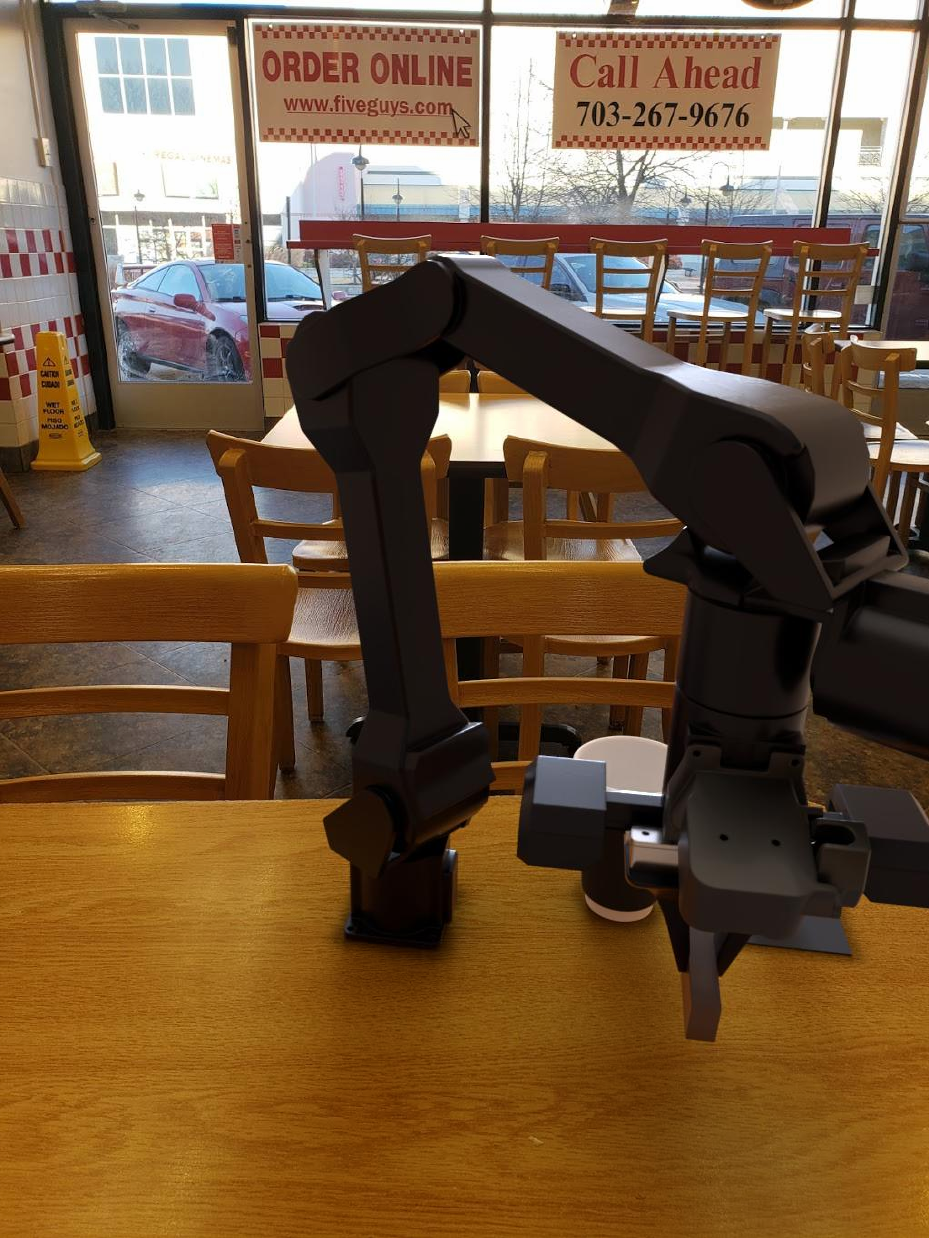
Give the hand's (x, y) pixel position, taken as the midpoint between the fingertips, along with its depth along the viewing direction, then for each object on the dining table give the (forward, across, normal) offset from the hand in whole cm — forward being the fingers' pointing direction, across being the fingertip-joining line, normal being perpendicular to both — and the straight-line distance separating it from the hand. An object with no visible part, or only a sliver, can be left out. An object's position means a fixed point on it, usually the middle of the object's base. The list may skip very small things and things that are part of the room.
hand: (698, 968), depth 47 cm
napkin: (+9, +7, +19) cm, 22 cm away
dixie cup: (+9, -3, +17) cm, 19 cm away
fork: (+1, 0, +4) cm, 4 cm away
